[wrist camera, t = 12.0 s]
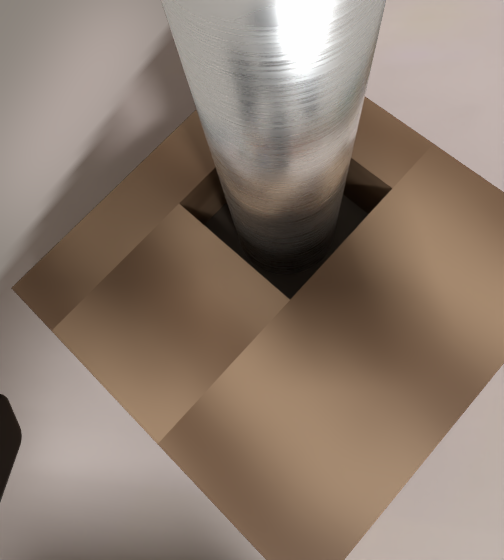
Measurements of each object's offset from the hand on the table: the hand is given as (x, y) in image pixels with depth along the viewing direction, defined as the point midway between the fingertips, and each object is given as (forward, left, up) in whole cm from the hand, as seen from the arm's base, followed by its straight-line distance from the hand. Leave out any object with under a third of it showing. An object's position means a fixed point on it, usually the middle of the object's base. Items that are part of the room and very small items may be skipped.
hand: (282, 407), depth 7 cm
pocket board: (+3, +3, -11) cm, 12 cm away
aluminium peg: (+5, +5, -11) cm, 13 cm away
